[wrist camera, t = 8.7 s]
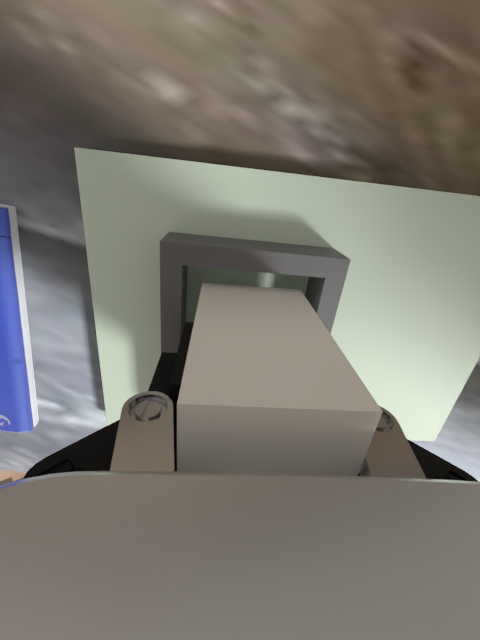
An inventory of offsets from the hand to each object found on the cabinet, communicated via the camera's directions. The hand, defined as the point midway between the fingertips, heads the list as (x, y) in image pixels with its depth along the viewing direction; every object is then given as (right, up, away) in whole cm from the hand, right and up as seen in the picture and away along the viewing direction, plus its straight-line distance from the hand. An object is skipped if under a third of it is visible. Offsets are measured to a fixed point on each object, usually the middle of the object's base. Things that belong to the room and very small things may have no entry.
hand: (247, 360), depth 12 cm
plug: (0, +1, +1) cm, 1 cm away
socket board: (+3, +1, +4) cm, 5 cm away
